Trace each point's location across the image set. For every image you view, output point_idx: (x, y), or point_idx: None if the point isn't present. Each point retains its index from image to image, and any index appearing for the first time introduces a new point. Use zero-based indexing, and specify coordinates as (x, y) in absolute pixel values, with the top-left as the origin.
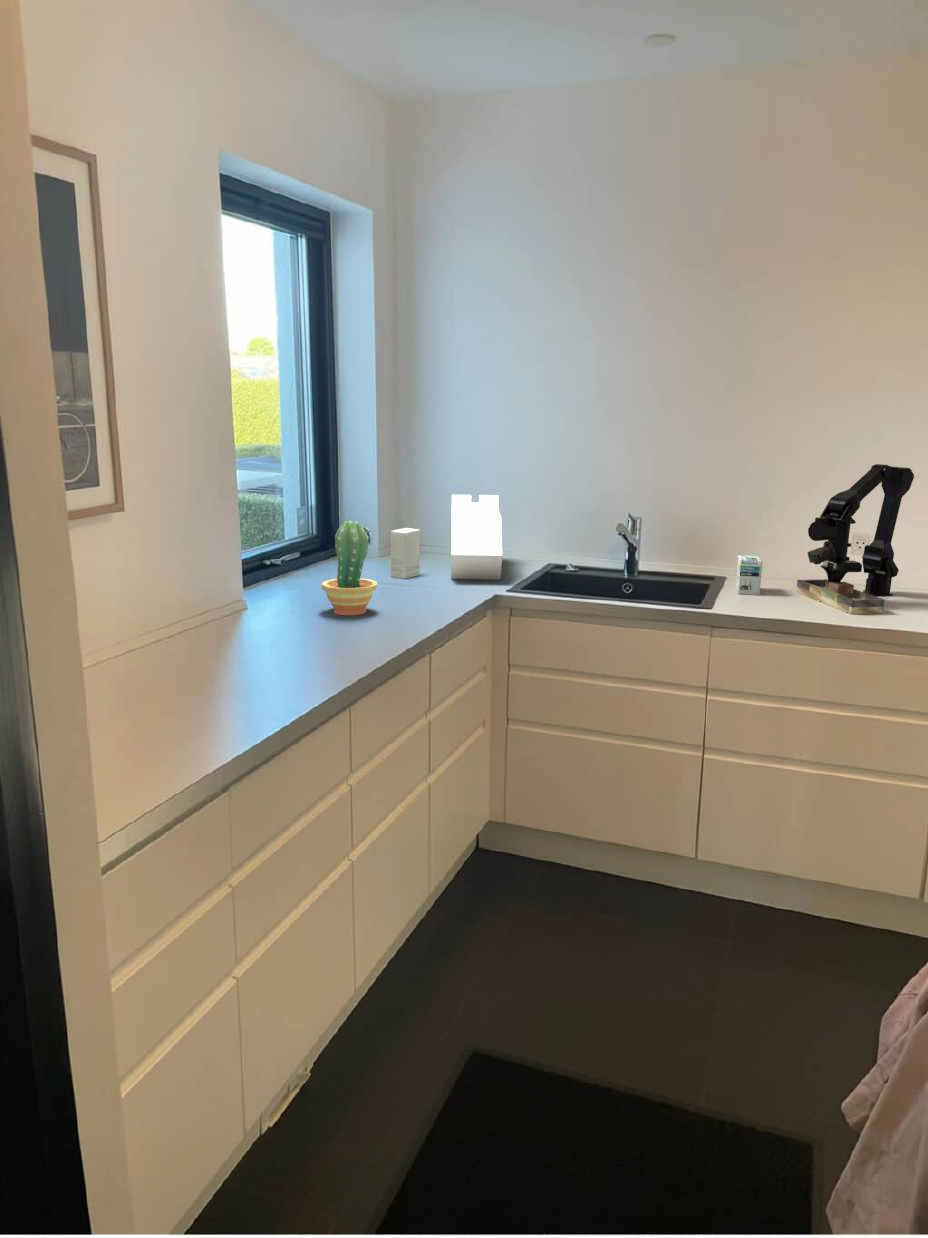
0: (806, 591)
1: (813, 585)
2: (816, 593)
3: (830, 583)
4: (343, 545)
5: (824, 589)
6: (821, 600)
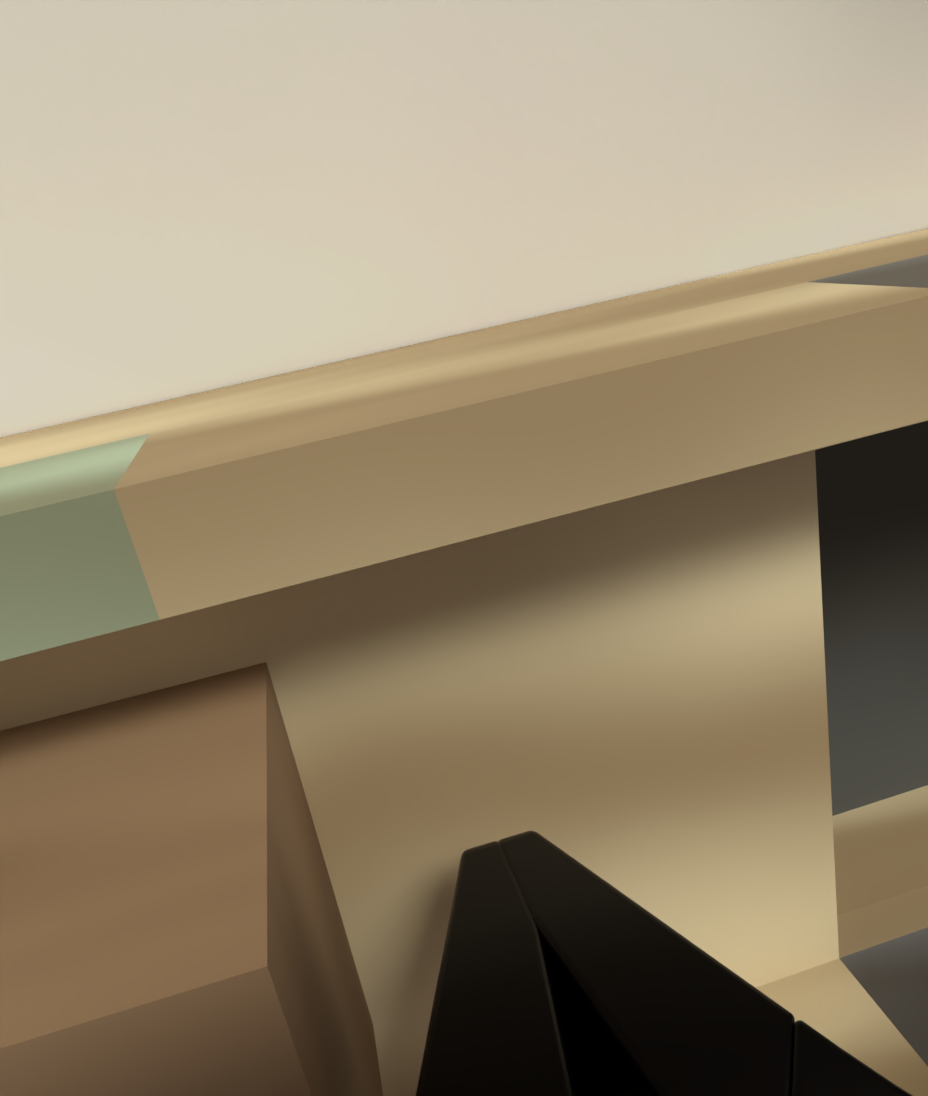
0: (913, 249)
1: (811, 376)
2: (414, 372)
3: (143, 968)
4: None
5: (28, 582)
6: (112, 422)
